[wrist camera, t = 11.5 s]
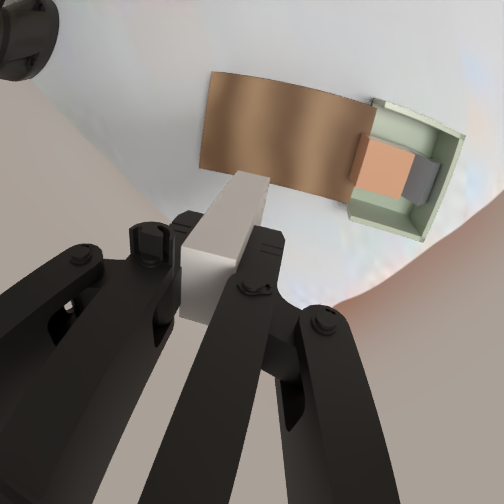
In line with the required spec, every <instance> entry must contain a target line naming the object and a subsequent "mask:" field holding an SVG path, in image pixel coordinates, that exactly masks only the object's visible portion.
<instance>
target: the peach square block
mask: <svg viewBox="0 0 504 504" xmlns="http://www.w3.org/2000/svg"><path fill="white" fill-rule="evenodd" d="M414 157H415V154H414V153H412V152H411V151H410V150H408V149H407V148H405V147H403V146H401V145H398V144H395V143H392V142H389V141H386V140H383V139H380V138H377V137H374V136H371V135H368V134H364V133H362V134H361V138H360V141H359V145H358V148H357V152H356V155H355V158H354V162H353V165H352V169H351V172H350V175H349V178H350V180H351V181H352V183H353V185H354V186H355V187H356V188H360V189H363V190H367V191H371V192H374V193H378V194H381V195H385V196H388V197H392V198H395V199H400V196H401V194H402V191H403V188H404V186H405V183H406V180H407V177H408V174H409V172H410V169H411V166H412V163H413V160H414Z"/></svg>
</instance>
